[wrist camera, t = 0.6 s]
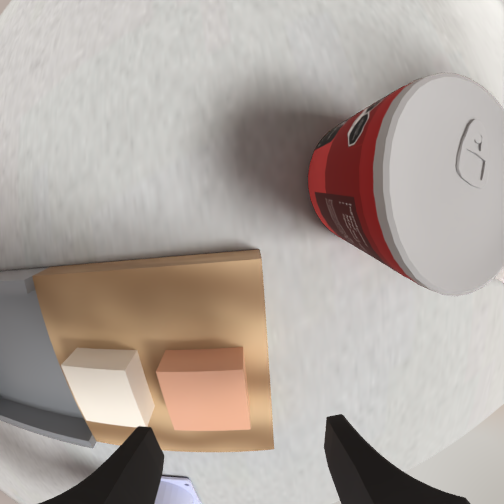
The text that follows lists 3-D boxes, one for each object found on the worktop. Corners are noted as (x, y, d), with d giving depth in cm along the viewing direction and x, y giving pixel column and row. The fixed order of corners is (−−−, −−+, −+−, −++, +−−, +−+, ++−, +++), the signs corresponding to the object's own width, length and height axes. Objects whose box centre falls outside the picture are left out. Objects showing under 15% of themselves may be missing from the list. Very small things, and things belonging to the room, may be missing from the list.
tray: (105, 424, 22) (92, 448, 19) (3, 400, 22) (-11, 415, 19) (50, 266, 19) (24, 280, 16) (-44, 275, 19) (-65, 284, 15)
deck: (271, 428, 23) (274, 449, 20) (105, 424, 22) (96, 441, 20) (259, 249, 19) (261, 258, 17) (50, 266, 19) (32, 275, 16)
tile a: (249, 405, 19) (250, 429, 16) (180, 406, 19) (174, 430, 16) (243, 346, 18) (243, 369, 15) (165, 350, 18) (155, 371, 15)
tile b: (154, 405, 19) (146, 428, 16) (97, 400, 19) (86, 420, 16) (137, 349, 18) (124, 370, 15) (76, 347, 18) (60, 365, 15)
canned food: (406, 129, 17) (522, 100, 7) (406, 240, 19) (519, 288, 8) (303, 118, 17) (370, 45, 7) (304, 241, 19) (373, 309, 8)
